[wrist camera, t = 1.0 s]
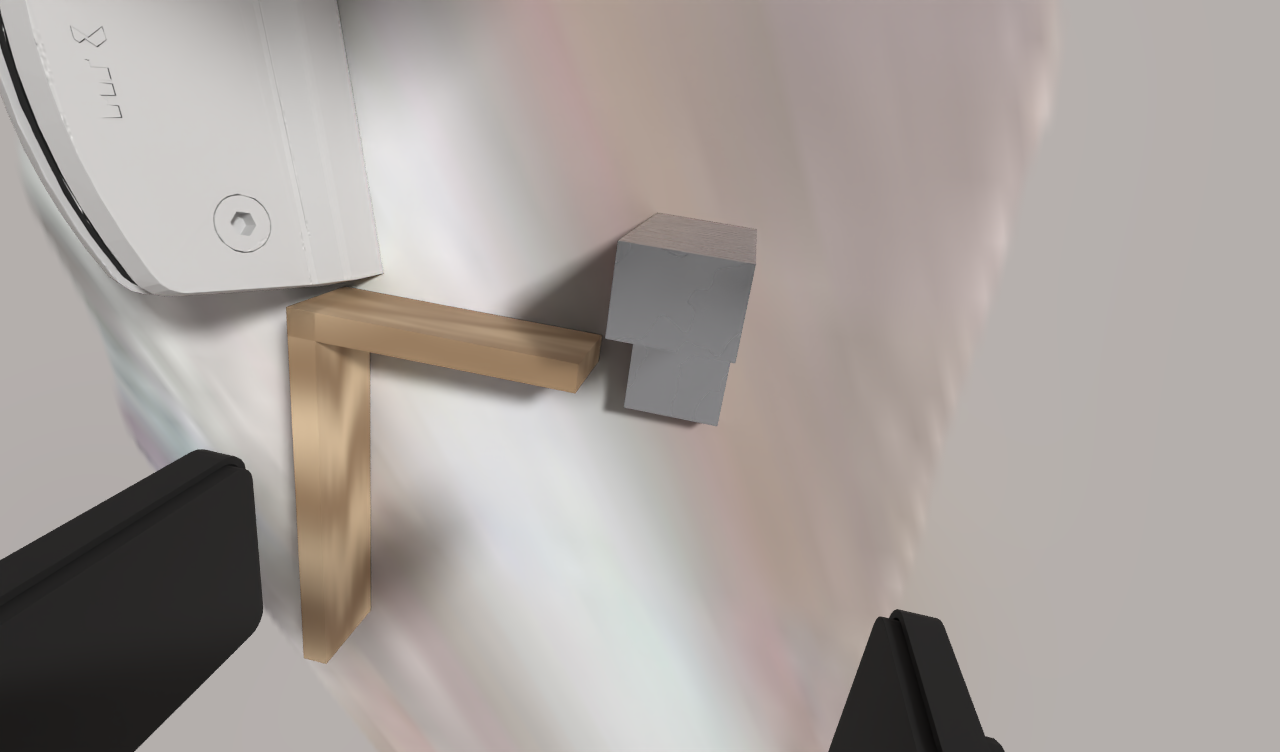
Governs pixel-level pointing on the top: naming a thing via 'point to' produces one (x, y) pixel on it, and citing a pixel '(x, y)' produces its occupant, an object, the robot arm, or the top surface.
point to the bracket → (681, 312)
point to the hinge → (195, 139)
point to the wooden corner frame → (340, 422)
